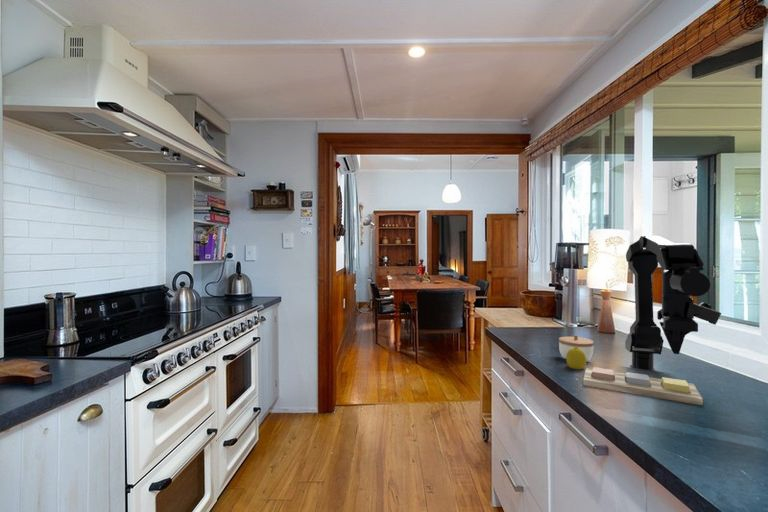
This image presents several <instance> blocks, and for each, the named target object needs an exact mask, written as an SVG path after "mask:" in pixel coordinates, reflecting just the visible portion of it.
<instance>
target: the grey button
mask: <svg viewBox="0 0 768 512" xmlns="http://www.w3.org/2000/svg"><path fill="white" fill-rule="evenodd" d="M625 374H626V382H625V383H631V384H637V385H643V386H649V387H650V379H649V377H650V376H649V375H648V374H643V373H637V372H629V371H626V372H625Z"/></svg>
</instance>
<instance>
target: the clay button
mask: <svg viewBox="0 0 768 512" xmlns="http://www.w3.org/2000/svg"><path fill="white" fill-rule="evenodd" d="M592 369H593V371H592V377H593V378H599V379H605V380H612V381H614V372H615V371H614V369H609V368H601V367H595V366H593V367H592Z"/></svg>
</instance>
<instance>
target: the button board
mask: <svg viewBox="0 0 768 512" xmlns="http://www.w3.org/2000/svg"><path fill="white" fill-rule="evenodd" d="M592 371H593V368H589V367H586V368H585V371H584V376H583V383H582V384H583V386H587V387H592V388H593V387H594V388H598V389H599V388H600V389H605V390H610V391H617V392H623V393H628V394H634V395H639V396H645V397H651V398H656V399H663V400H669V401H675V402H679V403H687V404H693V405H699V406H703V404H704V403H703V402H704V401H703V400H704V399H703V396H702V395H701V394H700V392H699V391H698V388H696V386H695V384H694V383H690V382H689V383H688V382H687V383H688V385H689V393H687V392H681V391H674V390H668V389H663V388H662V378H656V377H650V376H649V379H650V387H649V386H643V385H637V384H631V383H626V373H622V372H616V371H614V381H612V380H605V379H599V378H593V377H592Z"/></svg>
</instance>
